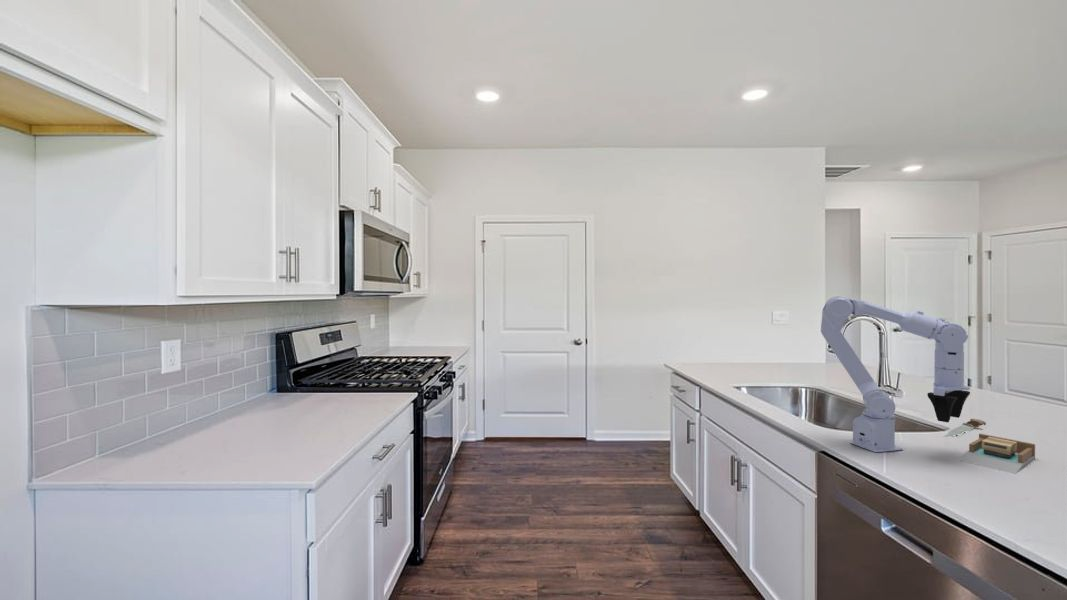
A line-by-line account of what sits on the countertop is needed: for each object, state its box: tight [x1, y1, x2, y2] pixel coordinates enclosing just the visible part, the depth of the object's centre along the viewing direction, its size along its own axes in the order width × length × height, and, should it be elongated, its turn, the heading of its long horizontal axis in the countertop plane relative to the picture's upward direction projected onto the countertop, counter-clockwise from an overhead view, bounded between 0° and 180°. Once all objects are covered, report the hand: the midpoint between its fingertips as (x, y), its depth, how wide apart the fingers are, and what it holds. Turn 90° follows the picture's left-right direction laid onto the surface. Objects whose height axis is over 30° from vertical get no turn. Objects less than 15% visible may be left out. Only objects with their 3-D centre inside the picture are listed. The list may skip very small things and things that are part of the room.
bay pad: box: [975, 449, 1018, 462], centre depth 117 cm, size 7×8×1 cm
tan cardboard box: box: [982, 437, 1017, 459], centre depth 117 cm, size 6×5×3 cm
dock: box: [957, 433, 1036, 475], centre depth 116 cm, size 18×10×5 cm, turn 121°
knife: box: [944, 418, 987, 438], centre depth 139 cm, size 27×2×5 cm
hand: (948, 419), depth 118 cm, fingers open, 7 cm apart
